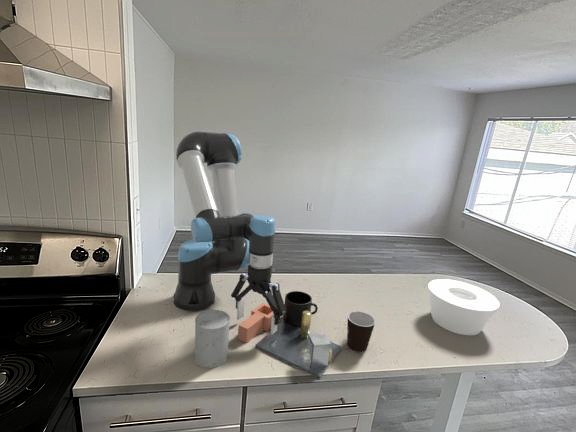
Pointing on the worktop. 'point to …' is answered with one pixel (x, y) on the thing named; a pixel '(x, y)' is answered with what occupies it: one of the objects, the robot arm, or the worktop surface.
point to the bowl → (461, 306)
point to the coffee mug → (359, 330)
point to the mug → (297, 307)
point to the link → (255, 323)
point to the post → (305, 324)
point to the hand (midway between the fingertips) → (256, 325)
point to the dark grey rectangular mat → (293, 348)
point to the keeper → (320, 349)
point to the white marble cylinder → (211, 338)
